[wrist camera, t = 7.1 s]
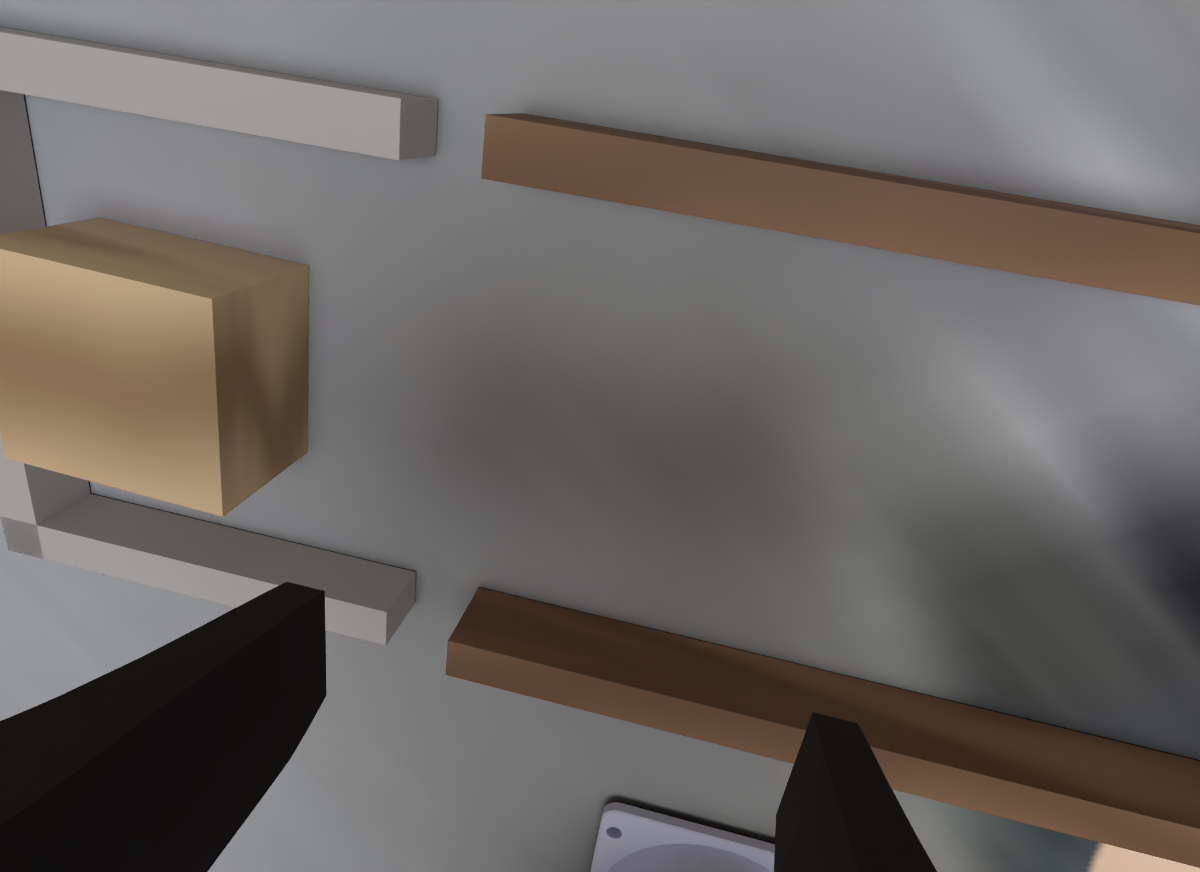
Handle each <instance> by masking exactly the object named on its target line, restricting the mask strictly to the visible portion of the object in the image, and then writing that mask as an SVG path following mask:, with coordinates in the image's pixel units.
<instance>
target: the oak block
mask: <svg viewBox="0 0 1200 872" xmlns="http://www.w3.org/2000/svg"><path fill="white" fill-rule="evenodd" d="M308 347H309V265H306V264H301V263H297V262H293V261H288V260H284V259H279V258H275V257H271V256H266V255H262V254H257V253H253V252H249V251H244V250H240V249H236V248H231V247H227V246H222V245H218V244H214V243H209V242H205V241H200V240H196V239H192V238H187V237H183V236H178V235H174V234H170V233H165V232H161V231H156V230H152V229H148V228H143V227H139V226H135V225H130V224H126V223H121V222H117V221H113V220H108V219H104V218H96V219H89V220H83V221H77V222H71V223H65V224H59V225H53V226H47V227H41V228H35V229H29V230H23V231H17V232H11V233H5V234H0V433H1V439H2V444H3V449H4V455H5V458H6V459H10V460H14V461H18V462H21V463H25V464H29V465H32V466H36V467H40V468H44V469H47V470H51V471H55V472H58V473H62V474H66V475H70V476H73V477H77V478H81V479H84V480H88V481H92V482H96V483H99V484H103V485H107V486H110V487H114V488H118V489H122V490H125V491H129V492H133V493H136V494H140V495H144V496H148V497H151V498H155V499H159V500H162V501H166V502H170V503H174V504H177V505H181V506H185V507H188V508H192V509H196V510H200V511H203V512H207V513H211V514H214V515H218V516H222V517H223V516H224V515H226V514H227V513H228V512H230V511H231V510H232V509H234V508H235V507H236V506H237V505H239V504H240V503H241V502H243V501H244V500H245V499H247V498H248V497H249V496H251V495H252V494H253V493H255V492H256V491H257V490H259V489H260V488H261V487H262V486H264V485H265V484H266V483H268V482H269V481H270V480H272V479H273V478H274V477H276V476H277V475H278V474H280V473H281V472H282V471H283V470H285V469H286V468H287V467H289V466H290V465H291V464H293V463H294V462H295V461H297V460H298V459H299V458H301V457H302V456H303V455H304V454H306V453H307V452H308Z"/></svg>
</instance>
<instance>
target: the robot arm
mask: <svg viewBox="0 0 1200 872" xmlns="http://www.w3.org/2000/svg"><path fill="white" fill-rule="evenodd" d="M325 697H326V640H325V591H323V590H319V589H315V588H311V587H307V586H303V585H299V584H295V583H291V582H285V583H283V584H281V585H279V586H277V587H275V588H273V589H271V590H269V591H267V592H265V593H263V594H261V595H259V596H257V597H255V598H254V599H252V600H250V601H248V602H246V603H244V604H242V605H240V606H238V607H237V608H235V609H233V610H231V611H229V612H227V613H225V614H223V615H222V616H220V617H218V618H216V619H214V620H212V621H210V622H208V623H207V624H205V625H203V626H201V627H199V628H197V629H195V630H193V631H191V632H189V633H187V634H185V635H183V636H182V637H180V638H178V639H176V640H174V641H172V642H170V643H168V644H166V645H164V646H162V647H160V648H158V649H157V650H155V651H153V652H151V653H149V654H147V655H145V656H143V657H141V658H139V659H137V660H135V661H132V662H130V663H128V664H126V665H124V666H122V667H120V668H118V669H116V670H114V671H111V672H109V673H107V674H105V675H103V676H101V677H99V678H97V679H95V680H92V681H90V682H88V683H86V684H84V685H82V686H80V687H78V688H76V689H73V690H71V691H69V692H67V693H65V694H63V695H61V696H59V697H56V698H54V699H52V700H49V701H47V702H45V703H43V704H40V705H38V706H36V707H33V708H31V709H29V710H26V711H24V712H22V713H19V714H17V715H14V716H12V717H10V718H7V719H5V720H2V721H0V872H207V871H208V870H209V869H210V867H211V866H212V865H213V863H214V862H215V861H216V859H217V858H218V856H219V855H220V854H221V852H222V851H223V850H224V848H225V847H226V846H227V844H228V843H229V842H230V840H231V839H232V838H233V836H234V835H235V834H236V832H237V831H238V830H239V828H240V827H241V825H242V824H243V823H244V821H245V820H246V819H247V817H248V816H249V815H250V813H251V812H252V811H253V809H254V808H255V807H256V805H257V804H258V802H259V801H260V800H261V798H262V797H263V796H264V794H265V793H266V792H267V790H268V789H269V787H270V786H271V785H272V783H273V782H274V781H275V779H276V778H277V776H278V775H279V774H280V772H281V771H282V770H283V768H284V767H285V765H286V764H287V763H288V761H289V760H290V758H291V757H292V755H293V753H294V752H295V750H296V748H297V746H298V745H299V743H300V741H301V740H302V738H303V736H304V735H305V733H306V731H307V729H308V728H309V726H310V724H311V722H312V720H313V718H314V717H315V715H316V713H317V711H318V709H319V708H320V706H321V704H322V702H323V700H324V698H325ZM614 827H616V828H614ZM590 872H937V871H936V869H935V867H934V865H933V864H932V862H931V860H930V858H929V857H928V855H927V853H926V851H925V850H924V848H923V846H922V844H921V843H920V841H919V839H918V837H917V835H916V834H915V832H914V830H913V828H912V826H911V824H910V822H909V821H908V819H907V817H906V815H905V813H904V811H903V809H902V807H901V806H900V804H899V802H898V800H897V798H896V796H895V794H894V792H893V790H892V788H891V786H890V784H889V783H888V781H887V779H886V777H885V775H884V773H883V771H882V769H881V767H880V765H879V763H878V761H877V759H876V757H875V755H874V753H873V751H872V749H871V747H870V745H869V743H868V741H867V739H866V737H865V735H864V733H863V731H862V729H861V728H860V726H859V725H858V723H855V722H851V721H847V720H842V719H838V718H834V717H830V716H826V715H822V714H818V713H814V712H812V715H811V718H810V721H809V723H808V726H807V729H806V732H805V735H804V738H803V741H802V743H801V746H800V749H799V752H798V755H797V758H796V760H795V763H794V766H793V769H792V772H791V775H790V777H789V780H788V783H787V786H786V789H785V792H784V794H783V797H782V800H781V803H780V806H779V809H778V811H777V814H776V833H775V844H772V843H768V842H764V841H761V840H757V839H753V838H749V837H746V836H742V835H738V834H734V833H731V832H727V831H723V830H720V829H716V828H712V827H708V826H705V825H701V824H697V823H694V822H690V821H686V820H682V819H679V818H675V817H671V816H668V815H664V814H660V813H656V812H653V811H649V810H645V809H641V808H638V807H634V806H630V805H627V804H623V803H618V802H614V803H609V804H608V805H606V806H605V808H604V809H603V814H602V819H601V823H600V828H599V833H598V838H597V842H596V847H595V852H594V857H593V861H592V866H591V871H590Z"/></svg>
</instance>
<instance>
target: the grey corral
mask: <svg viewBox="0 0 1200 872" xmlns="http://www.w3.org/2000/svg"><path fill="white" fill-rule="evenodd" d="M23 94H26V95H31V96H37V97H43V98H48V99H54V100H60V101H65V102H71V103H77V104H82V105H88V106H94V107H99V108H105V109H111V110H116V111H122V112H128V113H133V114H139V115H145V116H150V117H156V118H162V119H167V120H173V121H179V122H184V123H190V124H196V125H201V126H207V127H213V128H218V129H224V130H230V131H235V132H241V133H247V134H253V135H258V136H264V137H270V138H275V139H281V140H287V141H292V142H298V143H304V144H309V145H315V146H321V147H326V148H332V149H338V150H343V151H349V152H355V153H360V154H366V155H372V156H377V157H383V158H389V159H394V160H404V159H411V158H418V157H424V156H431V155H435V154H436V132H437V111H438V99H432V98H426V97H420V96H414V95H408V94H402V93H396V92H390V91H384V90H378V89H372V88H366V87H360V86H354V85H348V84H342V83H335V82H329V81H323V80H317V79H311V78H305V77H299V76H293V75H287V74H281V73H275V72H269V71H263V70H257V69H251V68H245V67H239V66H233V65H227V64H221V63H215V62H209V61H203V60H197V59H191V58H185V57H178V56H172V55H166V54H160V53H154V52H148V51H142V50H136V49H130V48H124V47H118V46H112V45H106V44H100V43H94V42H88V41H82V40H76V39H70V38H64V37H58V36H52V35H46V34H40V33H34V32H28V31H22V30H15V29H9V28H3V27H0V234H5V233H11V232H17V231H23V230H29V229H35V228H41V227H46V226H45V220H44V214H43V208H42V202H41V196H40V190H39V184H38V178H37V172H36V166H35V160H34V154H33V148H32V142H31V136H30V130H29V124H28V119H27V113H26V107H25V101H24V95H23ZM0 516H1V520H2V524H3V529H4V533H5V537H6V542H7V546H8V550H11V551H15V552H19V553H23V554H27V555H31V556H34V557H38V558H42V559H46V560H50V561H54V562H58V563H62V564H66V565H70V566H74V567H78V568H82V569H86V570H90V571H94V572H97V573H101V574H105V575H109V576H113V577H117V578H121V579H125V580H129V581H133V582H137V583H141V584H145V585H149V586H153V587H157V588H161V589H164V590H168V591H172V592H176V593H180V594H184V595H188V596H192V597H196V598H200V599H204V600H208V601H212V602H216V603H220V604H224V605H227V606H231V607H235V608H237V607H238V606H240V605H242V604H244V603H246V602H248V601H250V600H252V599H254V598H255V597H257V596H259V595H261V594H263V593H265V592H267V591H269V590H271V589H273V588H275V587H277V586H279V585H281V584H283V583H285V582H291V583H295V584H299V585H303V586H307V587H311V588H315V589H319V590H323V591H325V630H326V631H330V632H334V633H338V634H342V635H346V636H350V637H353V638H357V639H361V640H365V641H369V642H373V643H377V644H381V645H385V646H386V645H387V643H388V642H389V640H390V639H391V637H392V636H393V634H394V633H395V631H396V630H397V629H398V627H399V626H400V624H401V623H402V621H403V620H404V618H405V617H406V615H407V614H408V613H409V611H410V610H411V608H412V607H413V605H414V602H415V581H416V572H413V571H409V570H405V569H400V568H396V567H392V566H388V565H384V564H380V563H376V562H371V561H367V560H363V559H359V558H355V557H351V556H347V555H342V554H338V553H334V552H330V551H326V550H322V549H318V548H313V547H309V546H305V545H301V544H297V543H293V542H288V541H284V540H280V539H276V538H272V537H268V536H264V535H259V534H255V533H251V532H247V531H243V530H239V529H235V528H230V527H226V526H222V525H218V524H214V523H210V522H206V521H201V520H197V519H193V518H189V517H185V516H181V515H176V514H172V513H168V512H164V511H160V510H156V509H152V508H147V507H143V506H139V505H135V504H131V503H127V502H123V501H118V500H114V499H110V498H106V497H102V496H98V495H94V494H91V493H90V487H89V481H88V480H84V479H81V478H77V477H73V476H70V475H66V474H62V473H58V472H55V471H51V470H47V469H44V468H40V467H36V466H32V465H29V464H25V463H21V462H18V461H14V460H10V459H6V458H5V455H4V449H3V444H2V439H1V433H0Z"/></svg>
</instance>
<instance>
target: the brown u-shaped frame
mask: <svg viewBox="0 0 1200 872" xmlns="http://www.w3.org/2000/svg"><path fill="white" fill-rule="evenodd" d="M482 179H488V180H494V181H499V182H505V183H511V184H516V185H522V186H528V187H533V188H539V189H545V190H550V191H556V192H562V193H567V194H573V195H579V196H584V197H590V198H595V199H601V200H607V201H612V202H618V203H624V204H629V205H635V206H641V207H646V208H652V209H658V210H663V211H669V212H675V213H680V214H686V215H692V216H697V217H703V218H709V219H714V220H720V221H726V222H731V223H737V224H742V225H748V226H754V227H759V228H765V229H771V230H776V231H782V232H788V233H793V234H799V235H805V236H810V237H816V238H822V239H827V240H833V241H839V242H844V243H850V244H856V245H861V246H867V247H873V248H878V249H884V250H890V251H895V252H901V253H906V254H912V255H918V256H923V257H929V258H935V259H940V260H946V261H952V262H957V263H963V264H969V265H974V266H980V267H986V268H991V269H997V270H1003V271H1008V272H1014V273H1020V274H1025V275H1031V276H1037V277H1042V278H1048V279H1053V280H1059V281H1065V282H1070V283H1076V284H1082V285H1087V286H1093V287H1099V288H1104V289H1110V290H1116V291H1121V292H1127V293H1133V294H1138V295H1144V296H1150V297H1155V298H1161V299H1167V300H1172V301H1178V302H1184V303H1189V304H1195V305H1200V226H1199V225H1193V224H1187V223H1181V222H1175V221H1169V220H1163V219H1157V218H1151V217H1145V216H1139V215H1132V214H1126V213H1120V212H1114V211H1108V210H1102V209H1096V208H1090V207H1084V206H1078V205H1072V204H1066V203H1060V202H1054V201H1048V200H1042V199H1036V198H1030V197H1024V196H1018V195H1012V194H1006V193H1000V192H994V191H988V190H982V189H976V188H969V187H963V186H957V185H951V184H945V183H939V182H933V181H927V180H921V179H915V178H909V177H903V176H897V175H891V174H885V173H879V172H873V171H867V170H861V169H855V168H849V167H843V166H837V165H831V164H825V163H819V162H812V161H806V160H800V159H794V158H788V157H782V156H776V155H770V154H764V153H758V152H752V151H746V150H740V149H734V148H728V147H722V146H716V145H710V144H704V143H698V142H692V141H686V140H680V139H674V138H668V137H662V136H655V135H649V134H643V133H637V132H631V131H625V130H619V129H613V128H607V127H601V126H595V125H589V124H583V123H577V122H571V121H565V120H559V119H553V118H547V117H541V116H535V115H529V114H523V113H519V114H486V123H485V137H484V151H483V164H482ZM446 675H449V676H453V677H457V678H461V679H465V680H469V681H473V682H476V683H480V684H484V685H488V686H492V687H496V688H500V689H504V690H508V691H512V692H515V693H519V694H523V695H527V696H531V697H535V698H539V699H543V700H547V701H551V702H555V703H558V704H562V705H566V706H570V707H574V708H578V709H582V710H586V711H590V712H594V713H597V714H601V715H605V716H609V717H613V718H617V719H621V720H625V721H629V722H633V723H637V724H640V725H644V726H648V727H652V728H656V729H660V730H664V731H668V732H672V733H676V734H679V735H683V736H687V737H691V738H695V739H699V740H703V741H707V742H711V743H715V744H719V745H722V746H726V747H730V748H734V749H738V750H742V751H746V752H750V753H754V754H758V755H761V756H765V757H769V758H773V759H777V760H781V761H785V762H789V763H793V764H794V763H795V760H796V758H797V755H798V752H799V749H800V746H801V743H802V741H803V738H804V735H805V732H806V729H807V726H808V723H809V721H810V718H811V715H812V712H814V713H818V714H822V715H826V716H830V717H834V718H838V719H842V720H847V721H851V722H855V723H858V725H859V726H860V728H861V729H862V731H863V733H864V735H865V737H866V739H867V741H868V743H869V745H870V747H871V749H872V751H873V753H874V755H875V757H876V759H877V761H878V763H879V765H880V767H881V769H882V771H883V773H884V775H885V777H886V779H887V781H888V783H889V784H890V786H891V788H892V789H894V790H898V791H902V792H906V793H910V794H914V795H918V796H922V797H926V798H929V799H933V800H937V801H941V802H945V803H949V804H953V805H957V806H961V807H965V808H968V809H972V810H976V811H980V812H984V813H988V814H992V815H996V816H1000V817H1004V818H1008V819H1011V820H1015V821H1019V822H1023V823H1027V824H1031V825H1035V826H1039V827H1043V828H1047V829H1050V830H1054V831H1058V832H1062V833H1066V834H1070V835H1074V836H1078V837H1082V838H1086V839H1090V840H1093V841H1097V842H1101V843H1105V844H1109V845H1113V846H1117V847H1121V848H1125V849H1129V850H1133V851H1136V852H1140V853H1144V854H1148V855H1152V856H1156V857H1160V858H1164V859H1168V860H1172V861H1176V862H1179V863H1184V864H1187V865H1191V866H1195V867H1199V868H1200V761H1197V760H1193V759H1189V758H1185V757H1180V756H1176V755H1172V754H1168V753H1164V752H1160V751H1155V750H1151V749H1147V748H1143V747H1139V746H1135V745H1131V744H1126V743H1122V742H1118V741H1114V740H1110V739H1106V738H1102V737H1097V736H1093V735H1089V734H1085V733H1081V732H1077V731H1073V730H1068V729H1064V728H1060V727H1056V726H1052V725H1048V724H1043V723H1039V722H1035V721H1031V720H1027V719H1023V718H1019V717H1014V716H1010V715H1006V714H1002V713H998V712H994V711H990V710H985V709H981V708H977V707H973V706H969V705H965V704H961V703H956V702H952V701H948V700H944V699H940V698H936V697H931V696H927V695H923V694H919V693H915V692H911V691H907V690H902V689H898V688H894V687H890V686H886V685H882V684H878V683H873V682H869V681H865V680H861V679H857V678H853V677H849V676H844V675H840V674H836V673H832V672H828V671H824V670H819V669H815V668H811V667H807V666H803V665H799V664H795V663H790V662H786V661H782V660H778V659H774V658H770V657H766V656H761V655H757V654H753V653H749V652H745V651H741V650H737V649H732V648H728V647H724V646H720V645H716V644H712V643H707V642H703V641H699V640H695V639H691V638H687V637H683V636H678V635H674V634H670V633H666V632H662V631H658V630H654V629H649V628H645V627H641V626H637V625H633V624H629V623H625V622H620V621H616V620H612V619H608V618H604V617H600V616H595V615H591V614H587V613H583V612H579V611H575V610H571V609H566V608H562V607H558V606H554V605H550V604H546V603H542V602H537V601H533V600H529V599H525V598H521V597H517V596H512V595H508V594H504V593H500V592H496V591H492V590H488V589H483V588H478V590H477V592H476V593H475V595H474V597H473V598H472V600H471V602H470V604H469V605H468V607H467V609H466V611H465V612H464V614H463V616H462V618H461V619H460V621H459V623H458V624H457V626H456V628H455V630H454V631H453V633H452V635H451V637H450V638H449V640H448V648H447V662H446Z"/></svg>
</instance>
